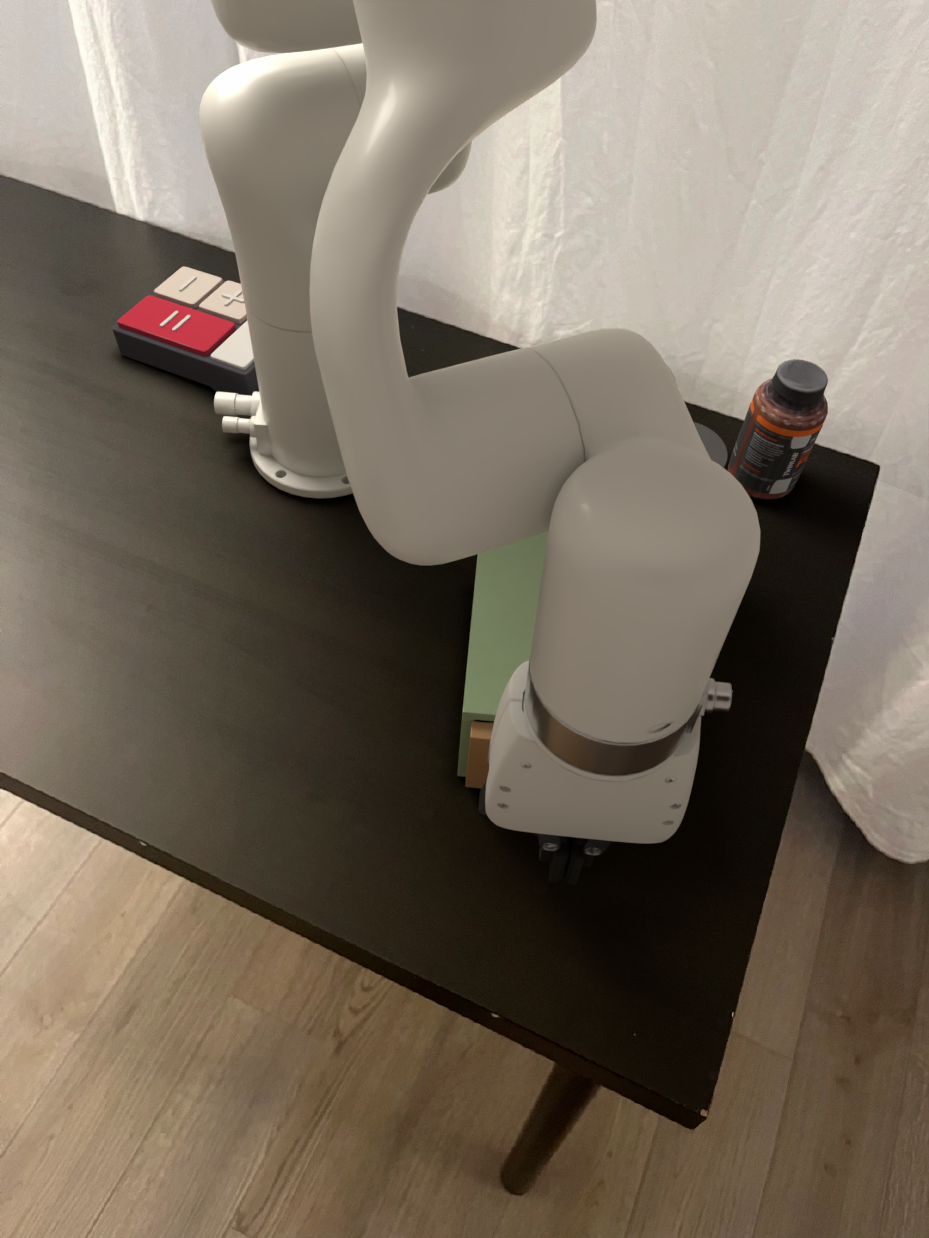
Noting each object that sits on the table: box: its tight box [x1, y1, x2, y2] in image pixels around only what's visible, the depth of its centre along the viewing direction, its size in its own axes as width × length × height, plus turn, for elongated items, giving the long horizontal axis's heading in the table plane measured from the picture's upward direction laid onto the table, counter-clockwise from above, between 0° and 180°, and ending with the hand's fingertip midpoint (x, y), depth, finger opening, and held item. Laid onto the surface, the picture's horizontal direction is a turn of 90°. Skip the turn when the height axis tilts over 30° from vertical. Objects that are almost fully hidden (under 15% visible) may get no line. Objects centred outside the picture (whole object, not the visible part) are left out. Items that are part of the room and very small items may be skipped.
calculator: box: [111, 266, 259, 396], centre depth 89 cm, size 11×4×15 cm
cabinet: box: [456, 531, 548, 778], centre depth 66 cm, size 16×14×9 cm
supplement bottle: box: [727, 358, 829, 501], centre depth 79 cm, size 6×6×11 cm
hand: (563, 859), depth 57 cm, fingers closed
